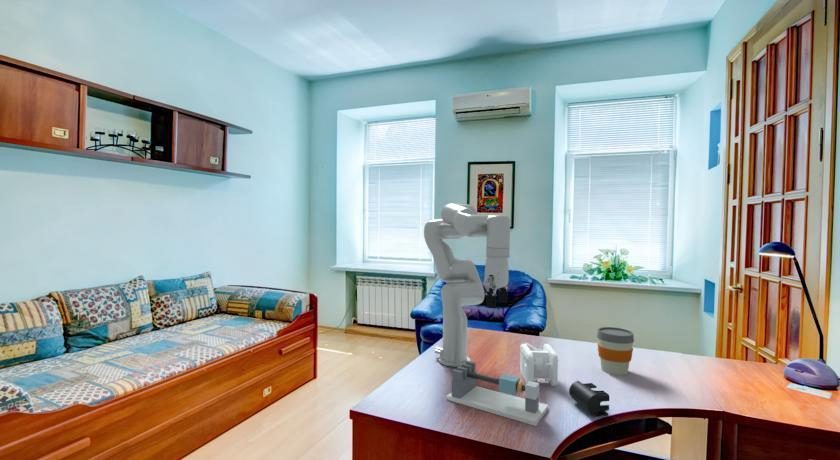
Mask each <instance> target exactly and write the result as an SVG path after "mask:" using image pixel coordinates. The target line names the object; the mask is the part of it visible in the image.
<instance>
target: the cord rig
mask: <svg viewBox="0 0 840 460" xmlns="http://www.w3.org/2000/svg"><path fill="white" fill-rule="evenodd" d="M476 364H477V363H476V362H473V361H470V362H469V361H467V362H466V364H462V365H461V367H456V369H452V373H451V374H452V379H451V392H450V393H448V394H447V395H446V400H447V401H450V402H454V403H458V404H461V405H464V406H466V407H467V406H468V407H470V408H474V409H477V410H481V411H484V412H488V413H491V414H494V415H497V416H501V417H504V418H508V419H512V420H515V421H517V422H521V423H525V424H527V425H531V426H535V427H536V426H537V425H538V424H539V423H540V421H541V420H542V418H543V417H544V415H545V414H546V412H547V411H548V409H549V404H547V403H541V402H540V383H539V382H535V381H534V382H532V381H529V382H528V383H527V384H526V383H524V382H522V381H520V382H519V383H518V384H516V389H517V392H518V393H520V394H522V393H524V397H525V398H523V397H521V396H520V397H519V396H517V395H515V396H514V395H510V394H507V393H503V392H499V391H496V390H492V389H488V388H484V387H481V386H477V385H476V384H477V380H479V381H482V382H485V383H486V382H487V383H491V384H493V385H498V386H499V378H496V377H492V376H487V375H484V374H480V373H477V371H476V366H477V365H476Z"/></svg>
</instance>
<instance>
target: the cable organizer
mask: <svg viewBox="0 0 840 460" xmlns="http://www.w3.org/2000/svg"><path fill="white" fill-rule="evenodd" d="M542 349H543V351H535V350H531V349H530V346H528V345H527V344H525V343H521V344H520V346H519V352H520V355H519V356H520V359H519V361H520V363H519V366H520V367H519V371H520V374H521V376H522V378H523V380H524V382H525V385H526V384H527V383H528V382H529V381H532V382H535V381H536V383H538V379H544V381H545V382H544V383H547V382H549V384H550V386H551V387H553V388H554V387H557V386H558V378H559V377H558V375H559V373H558V371H559V370H558V369H559V365H558V363H559V358H558V353H557V352H556V351H555V350H554V349H553V348H552V346H551V345H550V344H549V343H544V344H543V348H542Z"/></svg>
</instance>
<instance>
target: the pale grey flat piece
mask: <svg viewBox="0 0 840 460" xmlns="http://www.w3.org/2000/svg"><path fill="white" fill-rule="evenodd" d="M524 344H527V346H528V347H529V348H532V349H533V351H543V348H537V347H536V346H535V345H532V344H531V343H528V342H524Z"/></svg>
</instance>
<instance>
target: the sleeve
mask: <svg viewBox="0 0 840 460" xmlns="http://www.w3.org/2000/svg"><path fill="white" fill-rule="evenodd" d="M498 379H499V385H498V392H501V393H504V394H508V395H512V396H517V394H518V393H519V392H517V389H516V384H518V383H519V382H521V378H520V377H518V376H515V375H510V374H506V373H503V374H502V375H501V376H499V378H498Z"/></svg>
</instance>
